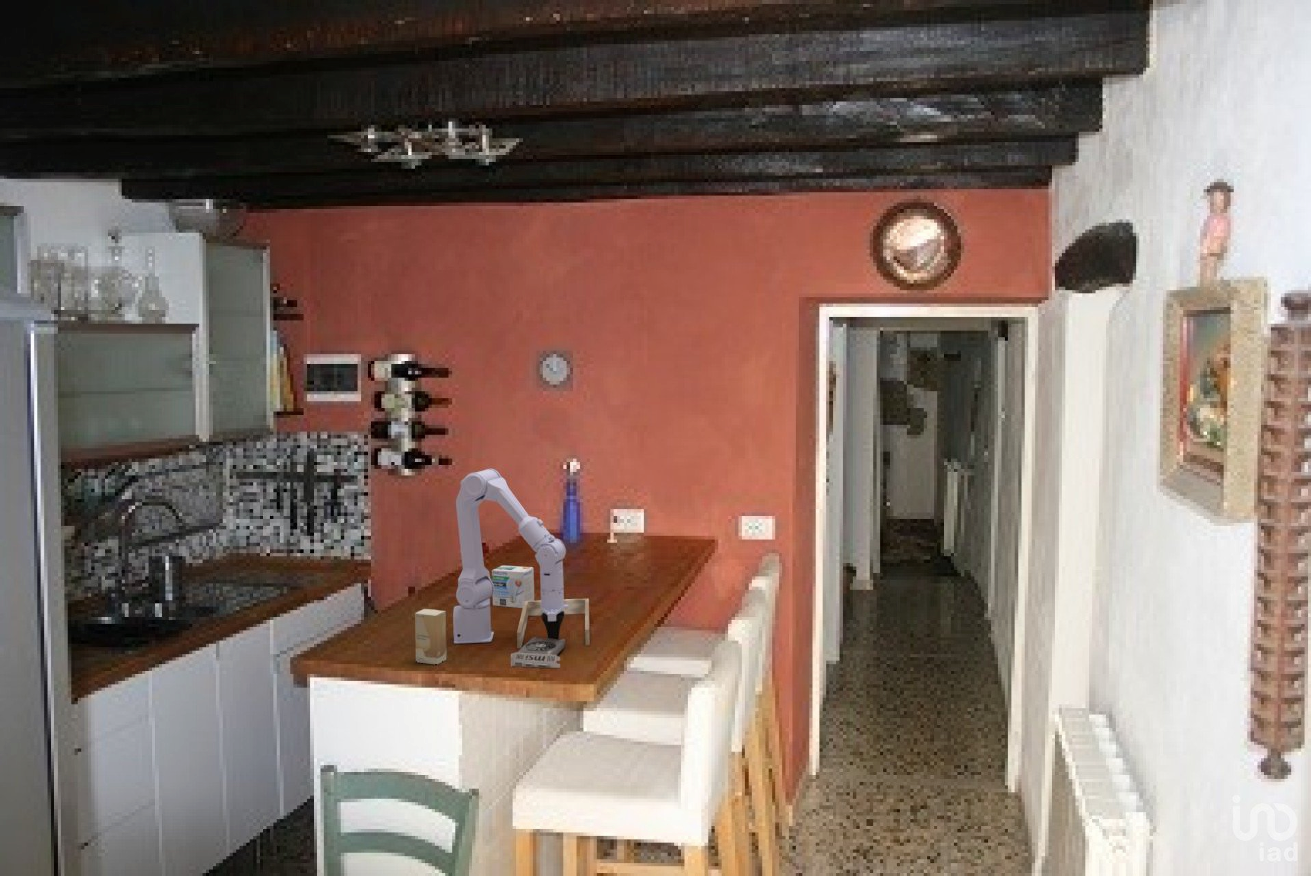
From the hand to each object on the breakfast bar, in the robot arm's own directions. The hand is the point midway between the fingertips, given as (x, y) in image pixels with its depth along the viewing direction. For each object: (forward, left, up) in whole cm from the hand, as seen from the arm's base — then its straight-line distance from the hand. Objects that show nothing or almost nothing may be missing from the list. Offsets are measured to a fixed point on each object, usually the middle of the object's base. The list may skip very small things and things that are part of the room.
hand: (553, 641), depth 246 cm
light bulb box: (-13, +42, -1) cm, 44 cm away
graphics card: (-2, -9, -2) cm, 10 cm away
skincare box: (-29, -9, -1) cm, 30 cm away
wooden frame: (0, +14, -1) cm, 14 cm away
